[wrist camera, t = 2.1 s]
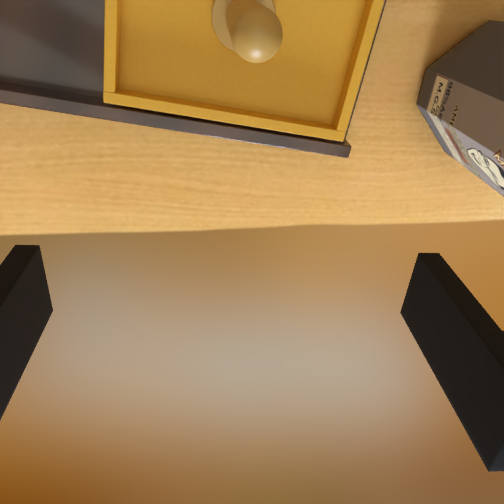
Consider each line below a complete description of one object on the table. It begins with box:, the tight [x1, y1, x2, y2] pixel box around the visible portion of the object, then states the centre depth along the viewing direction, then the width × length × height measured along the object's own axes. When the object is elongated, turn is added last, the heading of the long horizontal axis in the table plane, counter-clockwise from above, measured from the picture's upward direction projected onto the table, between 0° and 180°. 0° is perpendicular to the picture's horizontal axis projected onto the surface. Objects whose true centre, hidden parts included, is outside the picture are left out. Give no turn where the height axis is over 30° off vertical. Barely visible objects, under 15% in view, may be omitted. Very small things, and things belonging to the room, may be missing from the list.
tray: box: [103, 0, 385, 142], centre depth 26 cm, size 18×14×13 cm
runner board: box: [0, 0, 386, 158], centre depth 31 cm, size 30×17×3 cm, turn 79°
